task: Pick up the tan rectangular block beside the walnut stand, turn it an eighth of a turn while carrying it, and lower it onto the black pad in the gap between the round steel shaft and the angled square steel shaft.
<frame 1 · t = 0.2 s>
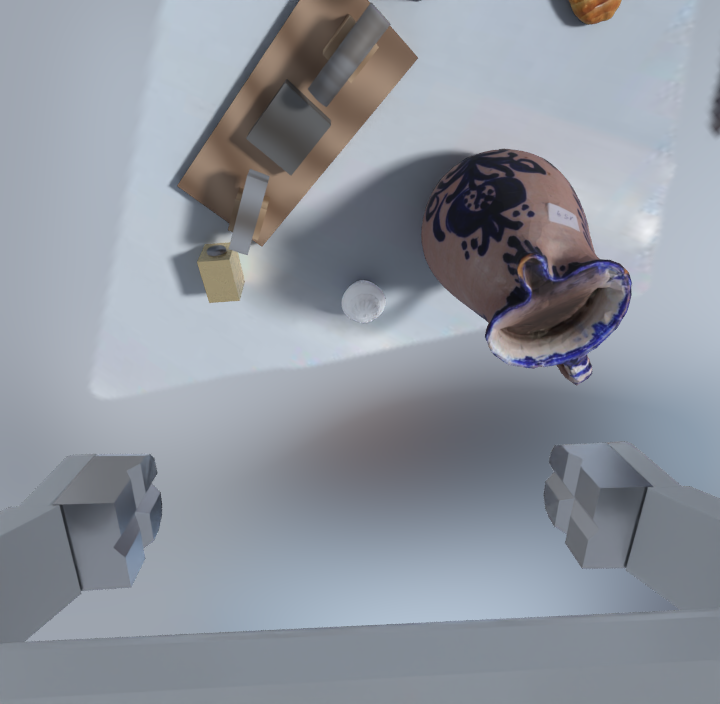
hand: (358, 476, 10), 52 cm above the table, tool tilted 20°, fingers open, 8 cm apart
shaft stand: (290, 122, 53), on the table
white rounded piece: (362, 288, 68), on the table
tan rectangular block: (225, 263, 64), on the table
ceramic pitcher: (487, 214, 61), on the table
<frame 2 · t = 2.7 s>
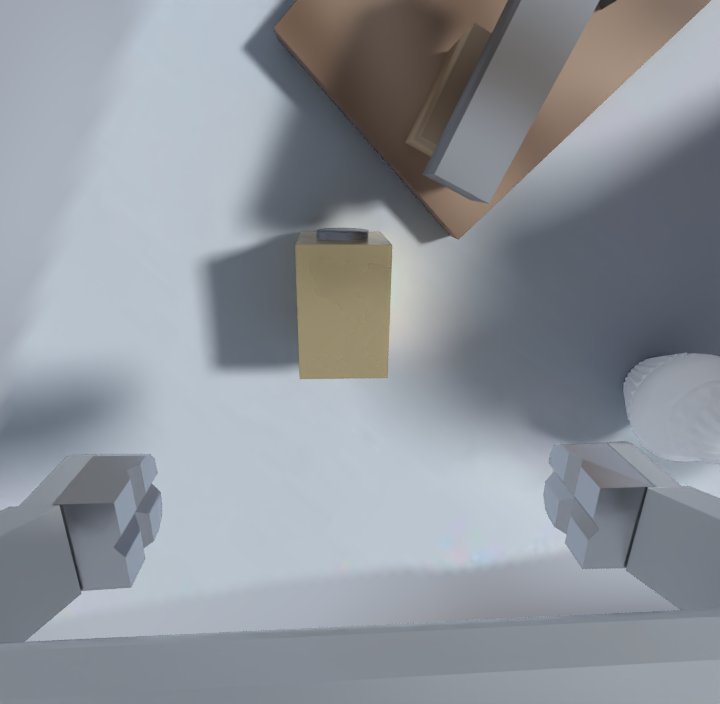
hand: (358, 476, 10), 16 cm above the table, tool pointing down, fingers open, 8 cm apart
white rounded piece: (646, 380, 28), on the table
tan rectangular block: (341, 289, 25), on the table
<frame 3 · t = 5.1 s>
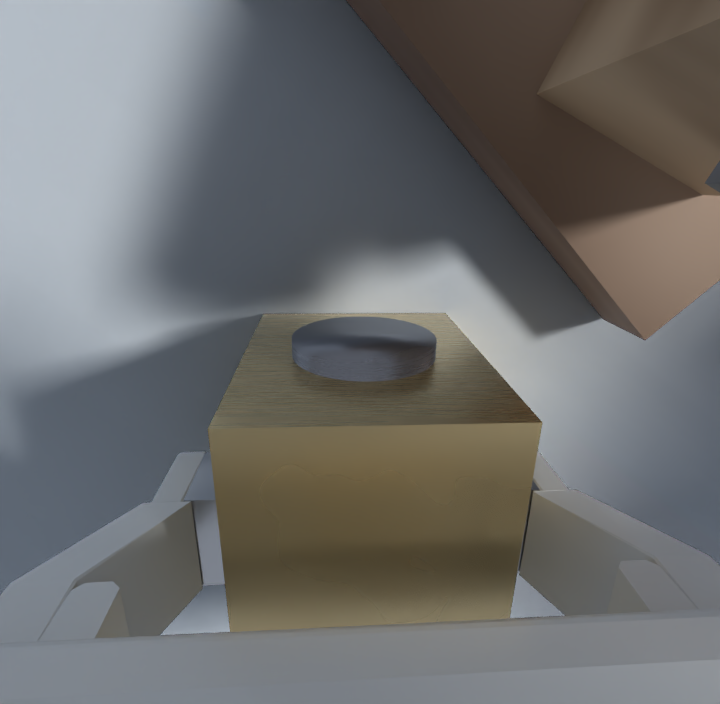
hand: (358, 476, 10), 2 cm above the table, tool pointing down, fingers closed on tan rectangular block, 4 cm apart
tan rectangular block: (354, 433, 11), on the table, touching gripper
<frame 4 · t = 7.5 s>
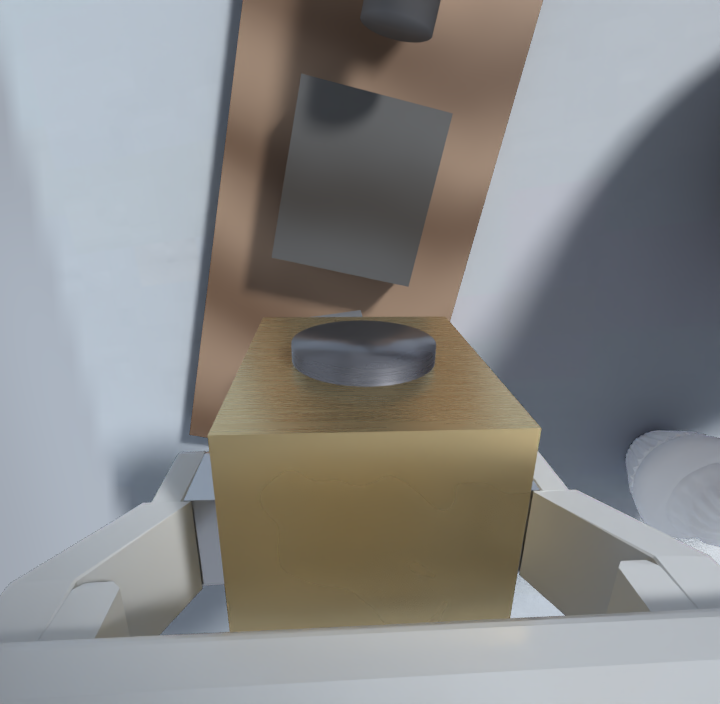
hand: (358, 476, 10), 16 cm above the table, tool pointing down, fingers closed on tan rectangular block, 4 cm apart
shaft stand: (354, 189, 23), on the table
white rounded piece: (648, 451, 29), on the table
tan rectangular block: (354, 436, 11), point 14 cm above the table, touching gripper
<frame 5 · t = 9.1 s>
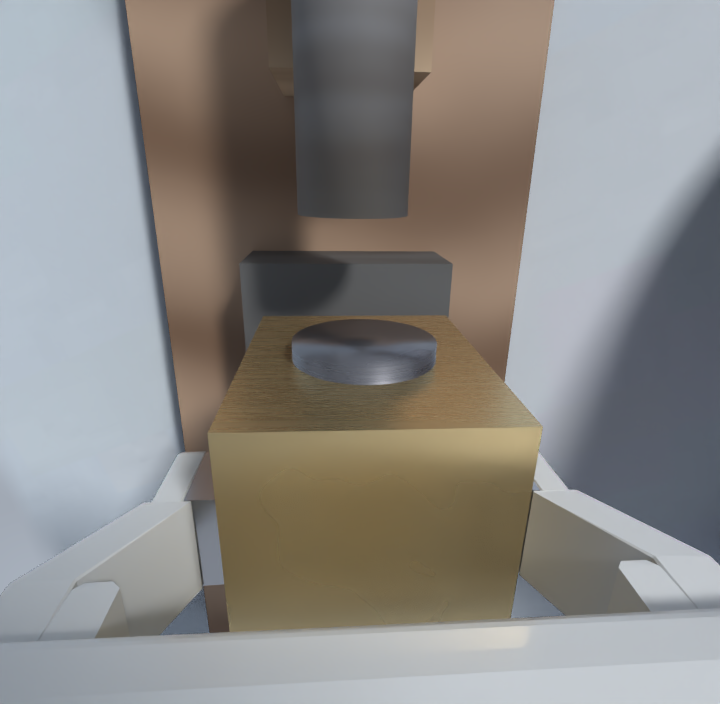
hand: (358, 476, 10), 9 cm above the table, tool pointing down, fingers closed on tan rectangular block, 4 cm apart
shaft stand: (343, 337, 18), on the table
tan rectangular block: (354, 435, 11), point 7 cm above the table, touching gripper
when the fingers open (7 cm above the table, at t = 10.2 s): tan rectangular block stays where it is, resting on shaft stand.
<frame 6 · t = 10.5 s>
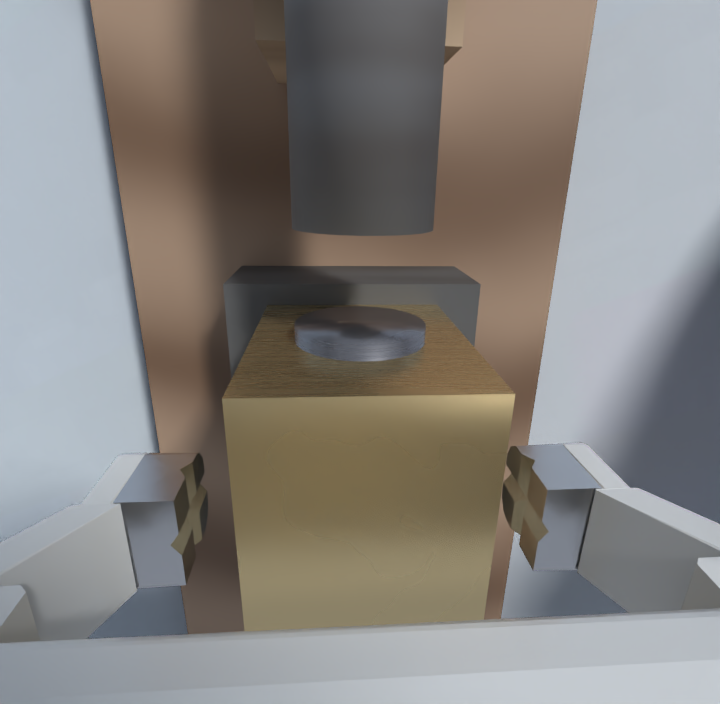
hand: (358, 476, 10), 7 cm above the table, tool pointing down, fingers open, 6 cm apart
shaft stand: (347, 362, 16), on the table
tan rectangular block: (352, 417, 12), point 4 cm above the table, touching shaft stand
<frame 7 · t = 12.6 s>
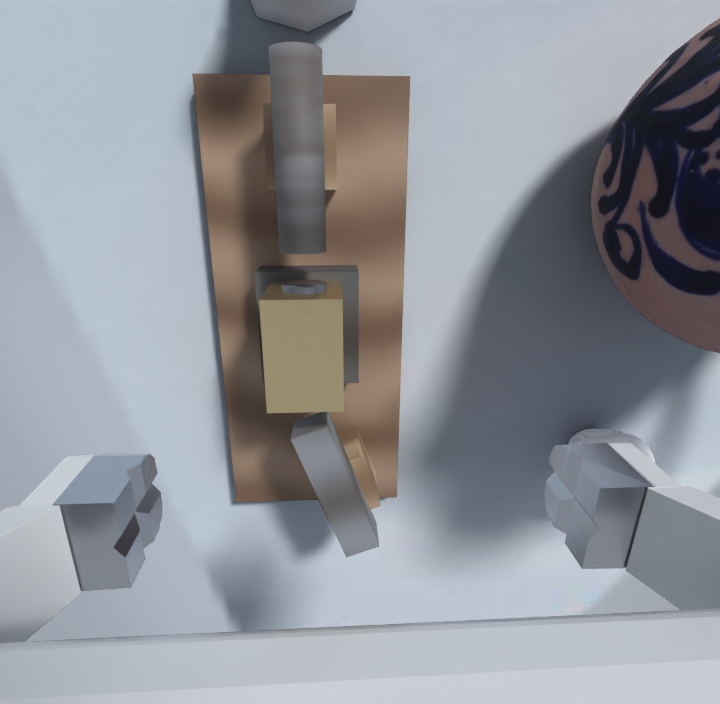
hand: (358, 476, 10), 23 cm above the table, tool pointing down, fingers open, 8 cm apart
shaft stand: (311, 313, 32), on the table
white rounded piece: (584, 445, 37), on the table
tan rectangular block: (308, 330, 28), point 4 cm above the table, touching shaft stand
ceramic pitcher: (704, 190, 31), on the table
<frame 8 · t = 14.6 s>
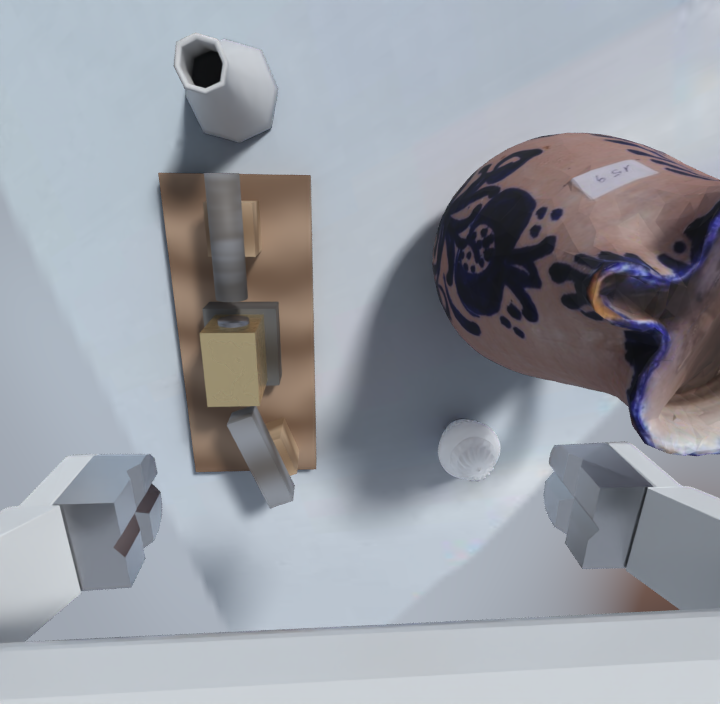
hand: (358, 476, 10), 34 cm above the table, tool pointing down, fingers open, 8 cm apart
flask: (233, 93, 37), on the table
shaft stand: (249, 334, 44), on the table
white rounded piece: (459, 431, 49), on the table
tan rectangular block: (241, 348, 40), point 4 cm above the table, touching shaft stand
ceramic pitcher: (530, 248, 43), on the table
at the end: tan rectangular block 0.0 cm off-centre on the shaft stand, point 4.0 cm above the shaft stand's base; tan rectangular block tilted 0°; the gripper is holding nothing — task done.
